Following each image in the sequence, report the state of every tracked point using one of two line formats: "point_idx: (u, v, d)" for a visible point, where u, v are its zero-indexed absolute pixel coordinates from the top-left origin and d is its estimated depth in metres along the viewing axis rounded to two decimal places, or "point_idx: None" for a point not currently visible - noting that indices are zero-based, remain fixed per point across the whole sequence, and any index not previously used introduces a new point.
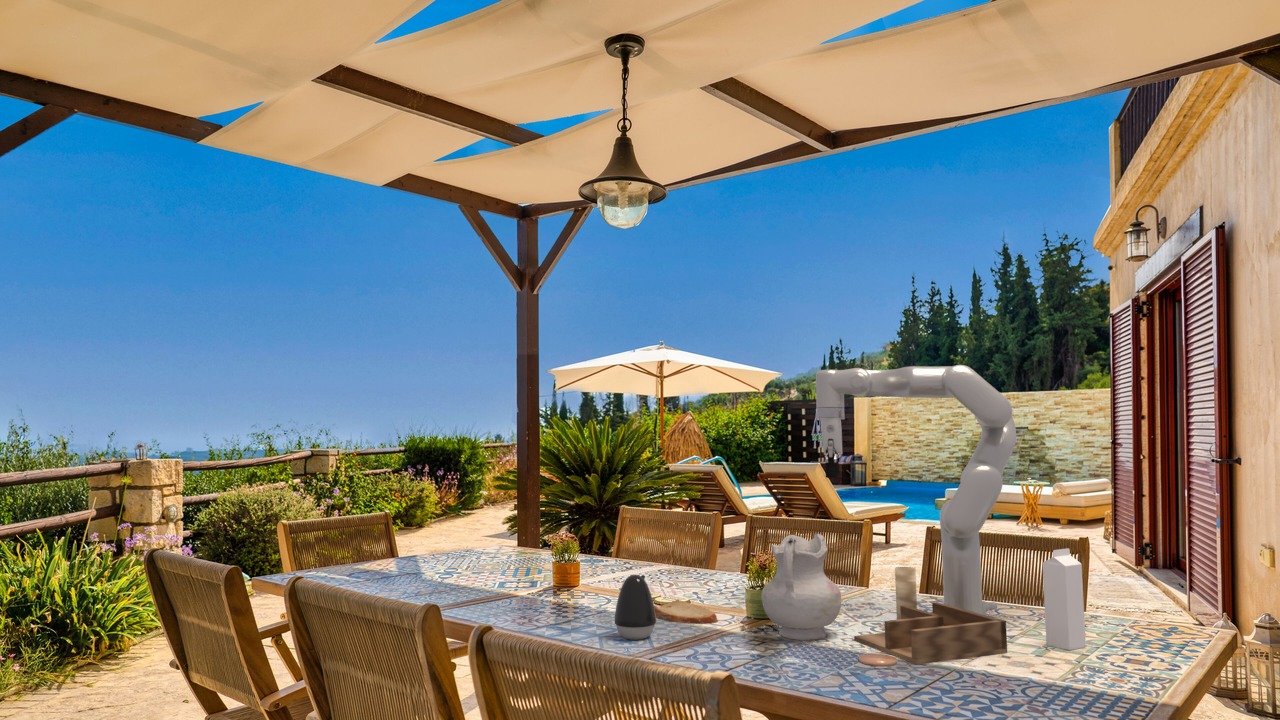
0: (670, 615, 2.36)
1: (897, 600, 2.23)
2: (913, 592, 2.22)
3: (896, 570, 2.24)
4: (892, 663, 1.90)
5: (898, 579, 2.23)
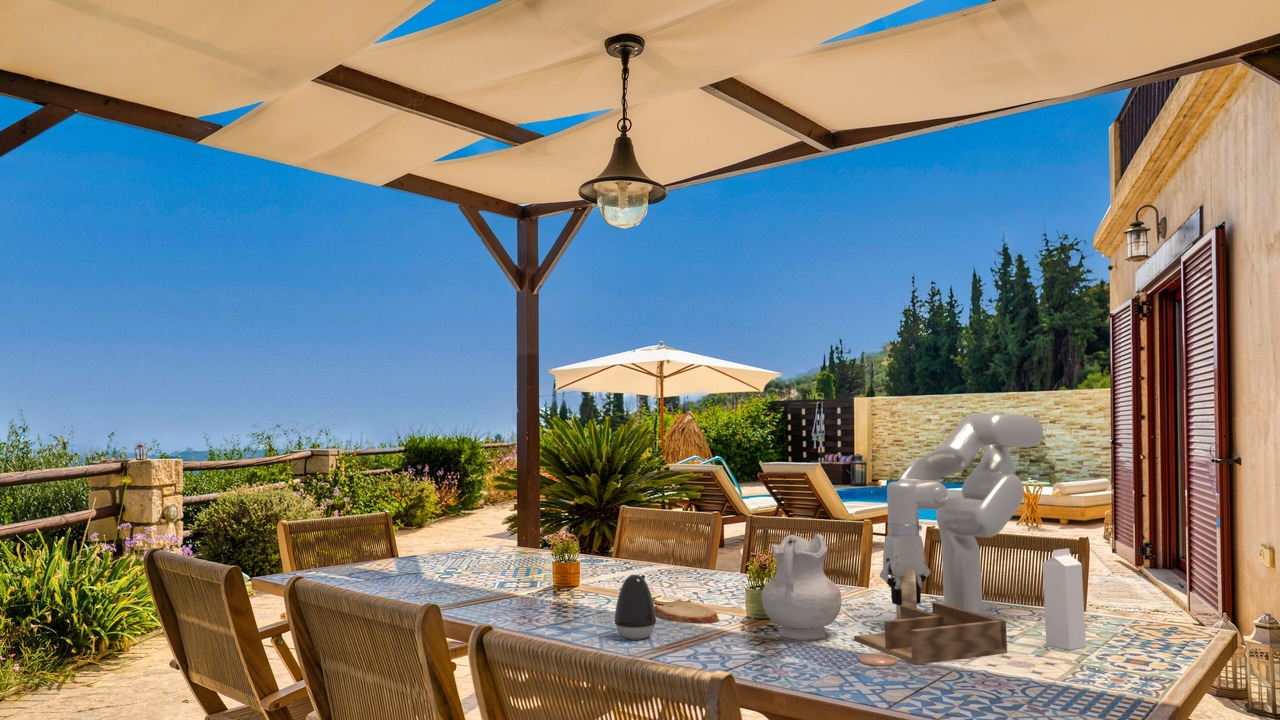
0: (671, 615, 2.36)
1: None
2: (913, 592, 2.22)
3: None
4: (892, 663, 1.90)
5: None
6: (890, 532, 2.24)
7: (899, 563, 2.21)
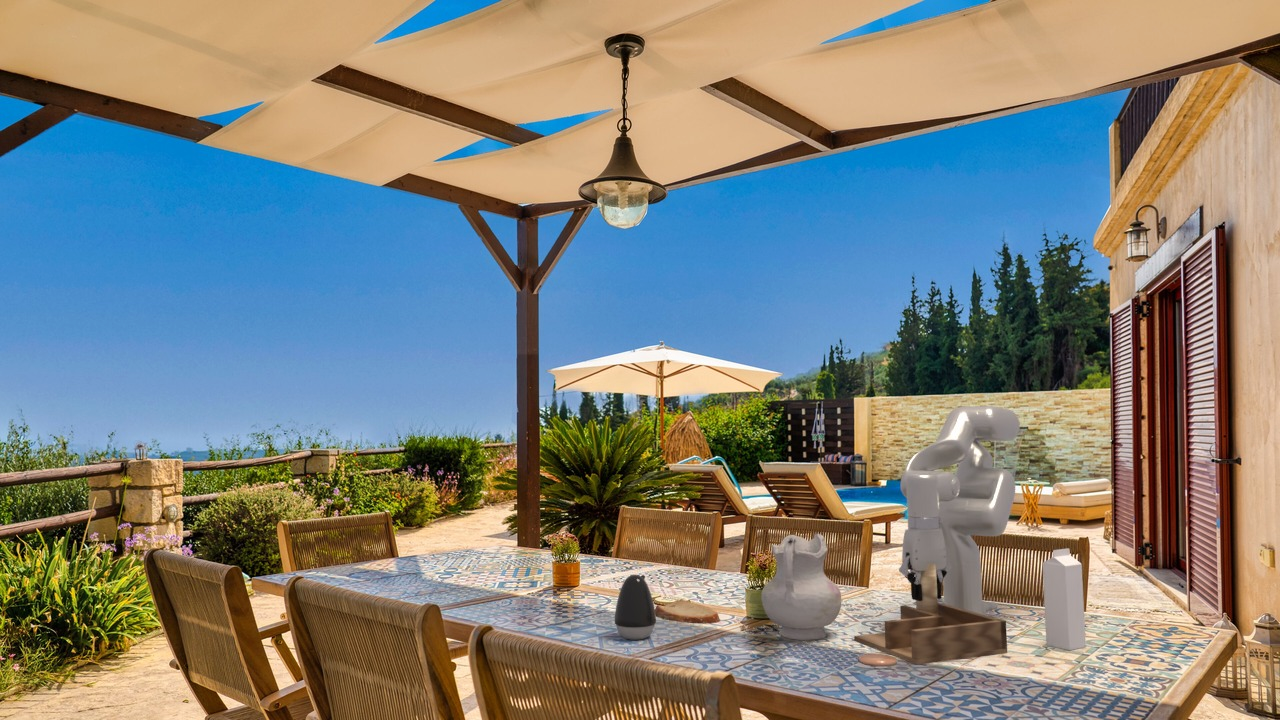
0: (672, 614, 2.37)
1: None
2: (933, 587, 2.15)
3: None
4: (892, 663, 1.90)
5: None
6: (910, 525, 2.17)
7: (919, 557, 2.14)
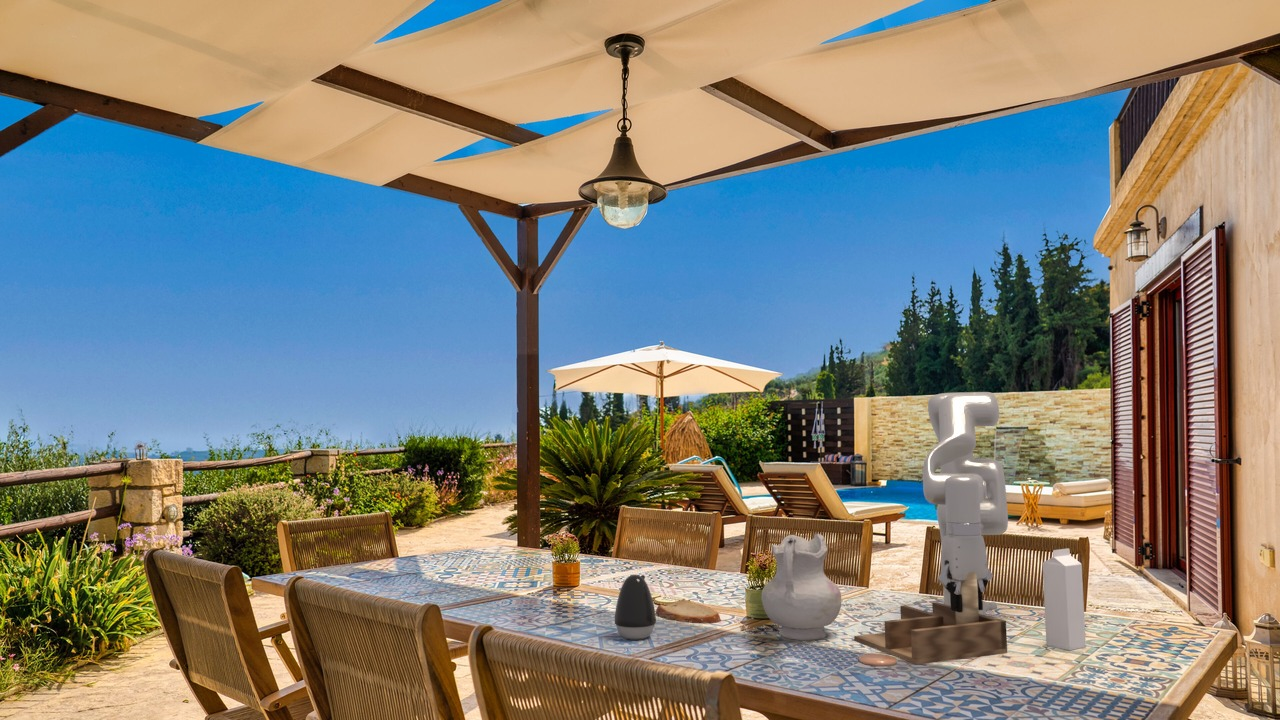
0: (673, 614, 2.37)
1: None
2: (974, 598, 2.01)
3: None
4: (892, 663, 1.90)
5: None
6: (949, 531, 2.04)
7: (959, 566, 2.01)
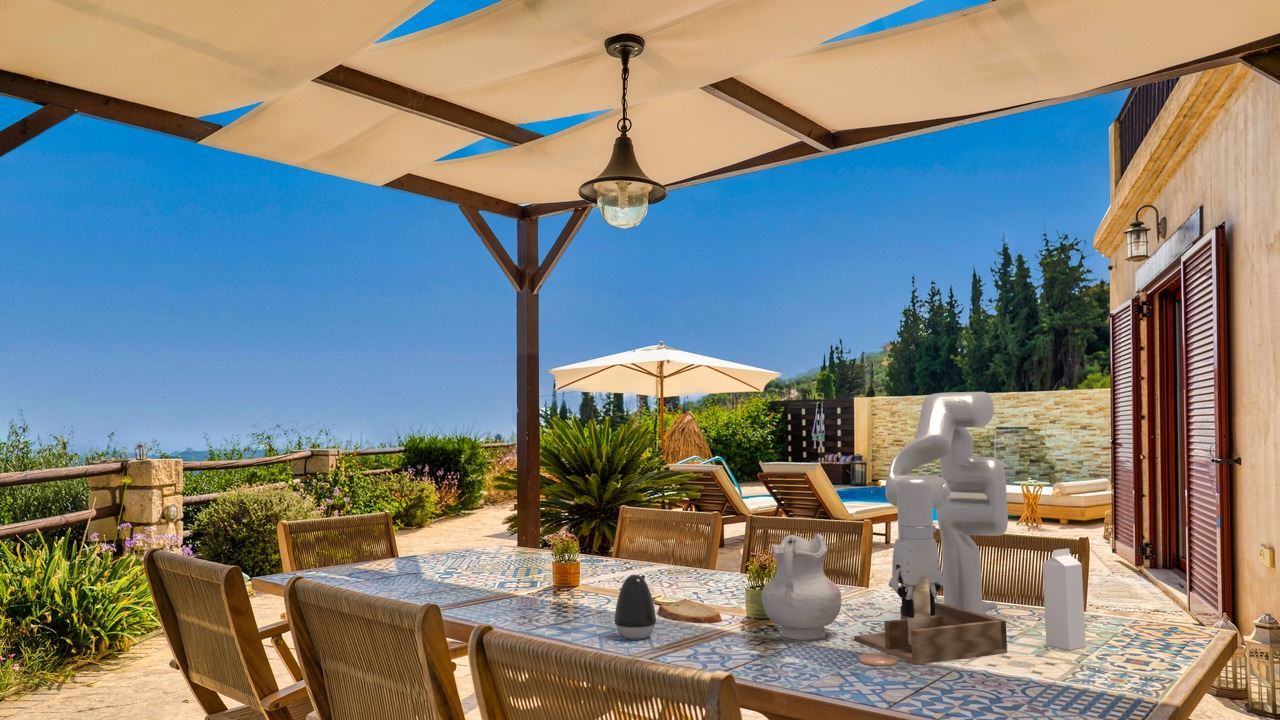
0: (674, 614, 2.37)
1: None
2: (926, 603, 1.96)
3: None
4: (892, 663, 1.90)
5: None
6: (900, 535, 1.98)
7: (911, 570, 1.95)
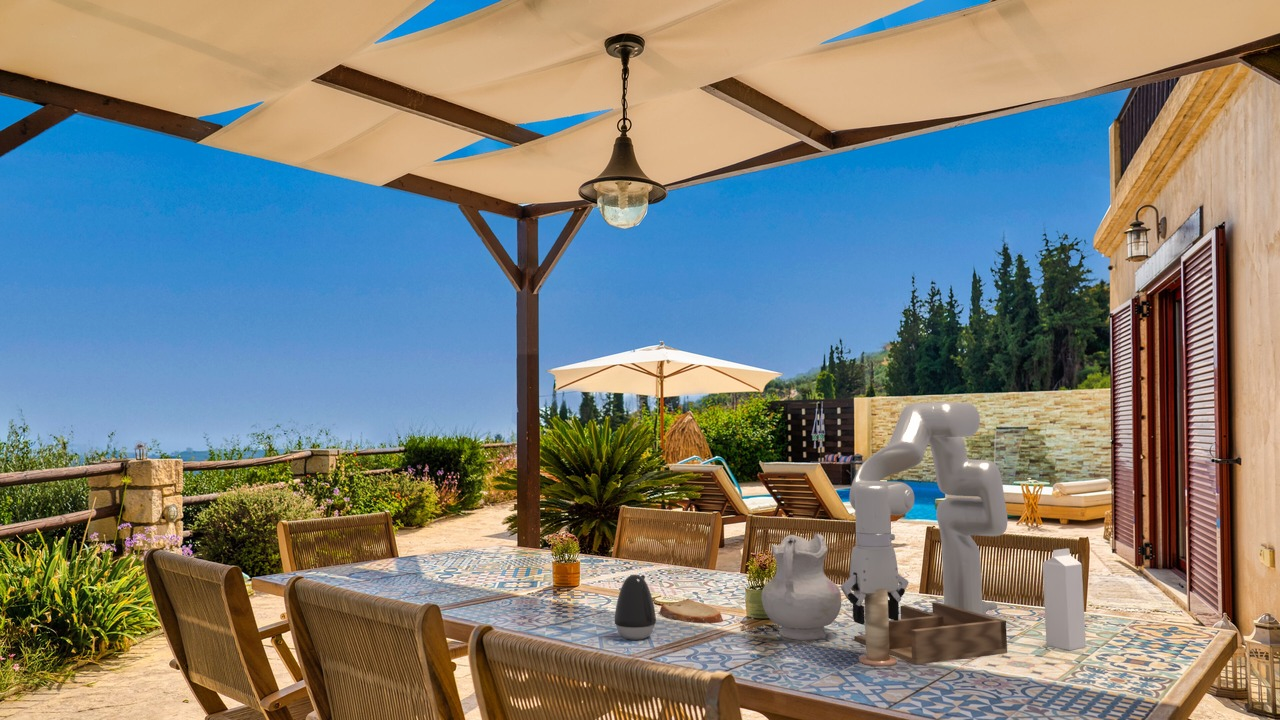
0: (675, 614, 2.37)
1: (866, 625, 1.93)
2: (884, 616, 1.92)
3: None
4: (892, 663, 1.90)
5: (867, 601, 1.93)
6: (858, 542, 1.94)
7: (868, 578, 1.91)
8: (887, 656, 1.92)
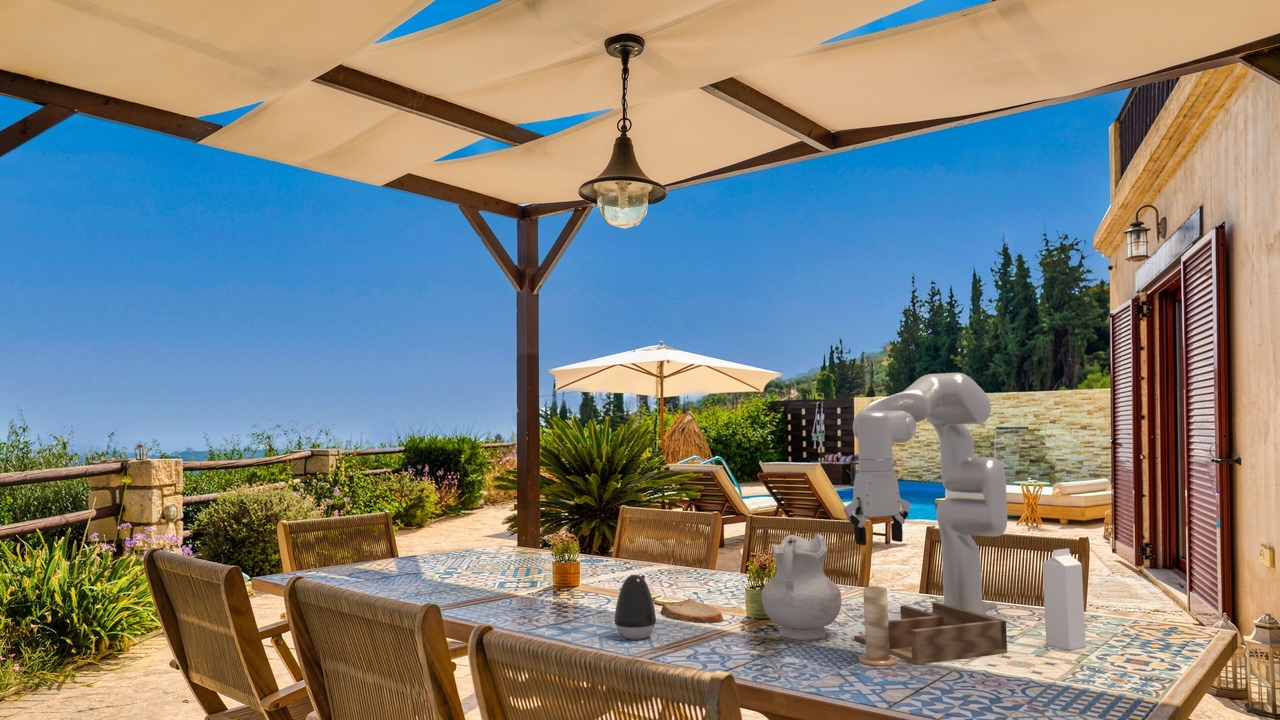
0: (676, 613, 2.38)
1: (866, 625, 1.93)
2: (884, 616, 1.92)
3: (865, 591, 1.94)
4: (892, 663, 1.90)
5: (867, 601, 1.93)
6: (860, 468, 2.00)
7: (871, 502, 1.97)
8: (887, 656, 1.92)
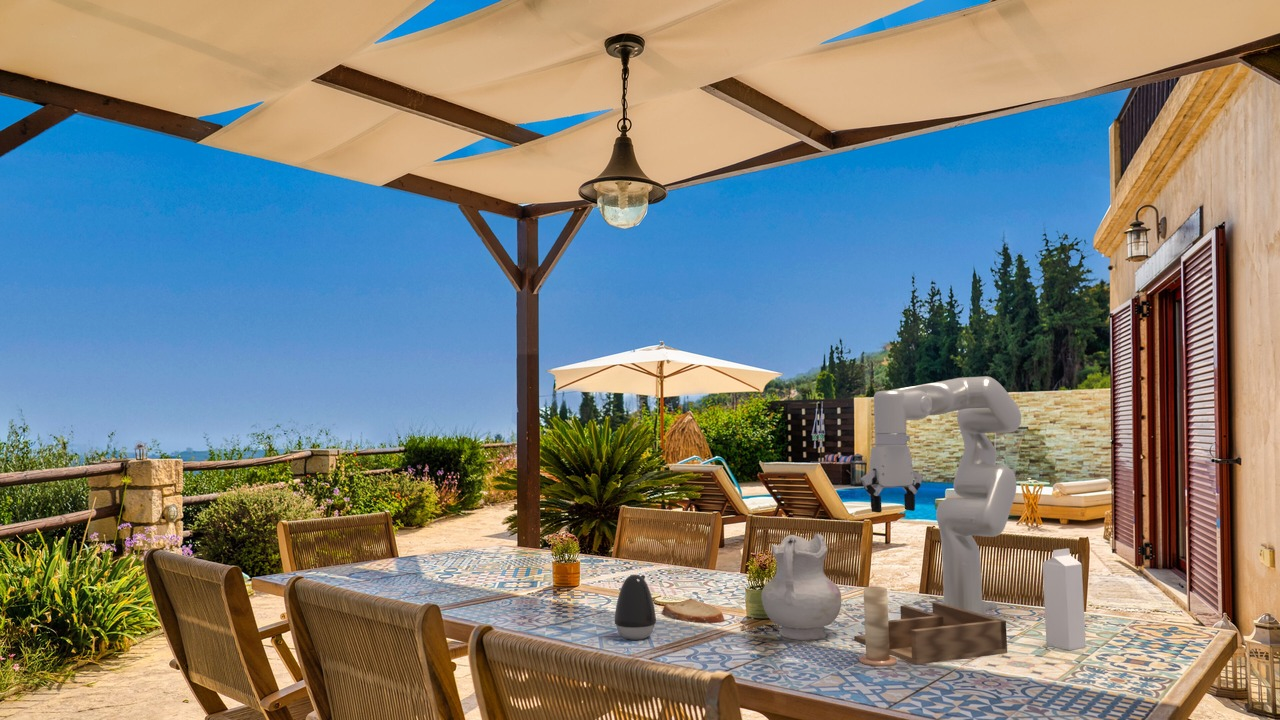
0: (677, 613, 2.38)
1: (866, 625, 1.93)
2: (884, 616, 1.92)
3: (865, 590, 1.94)
4: (892, 663, 1.90)
5: (867, 601, 1.93)
6: (877, 442, 2.17)
7: (886, 473, 2.14)
8: (887, 656, 1.92)
